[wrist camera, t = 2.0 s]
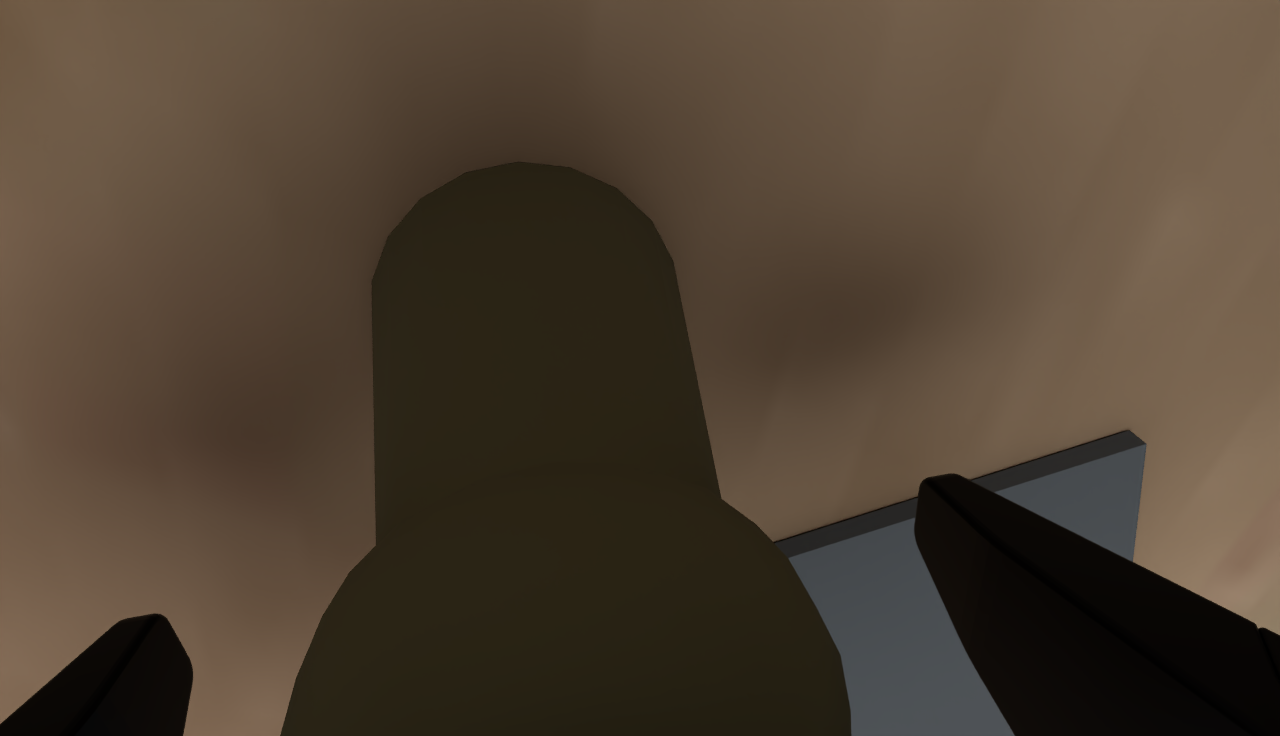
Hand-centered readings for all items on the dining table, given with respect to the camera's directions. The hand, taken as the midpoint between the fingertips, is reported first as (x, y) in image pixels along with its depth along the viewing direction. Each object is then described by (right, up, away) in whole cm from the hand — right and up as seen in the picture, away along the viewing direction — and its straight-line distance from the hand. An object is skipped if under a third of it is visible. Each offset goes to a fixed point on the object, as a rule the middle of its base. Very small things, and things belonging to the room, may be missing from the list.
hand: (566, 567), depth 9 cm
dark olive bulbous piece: (-1, +4, +6) cm, 7 cm away
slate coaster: (+9, -5, +13) cm, 17 cm away
